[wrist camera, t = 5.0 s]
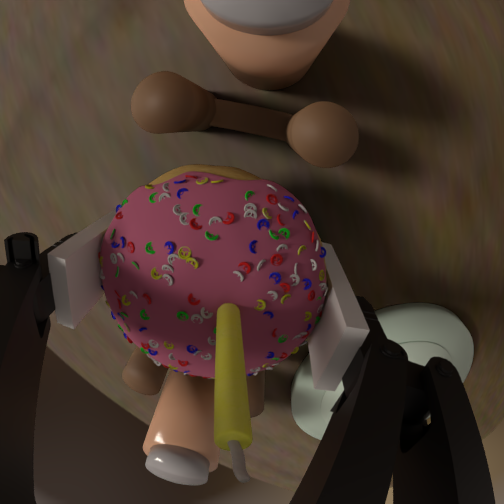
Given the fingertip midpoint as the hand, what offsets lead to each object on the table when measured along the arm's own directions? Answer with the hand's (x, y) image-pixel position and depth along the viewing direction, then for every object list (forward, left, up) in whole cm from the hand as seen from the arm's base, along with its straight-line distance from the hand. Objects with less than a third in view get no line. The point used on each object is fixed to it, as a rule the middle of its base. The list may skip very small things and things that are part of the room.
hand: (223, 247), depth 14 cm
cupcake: (0, 0, -1) cm, 1 cm away
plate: (+13, -8, -1) cm, 15 cm away
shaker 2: (0, +10, -1) cm, 10 cm away
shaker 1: (0, -9, -1) cm, 10 cm away
